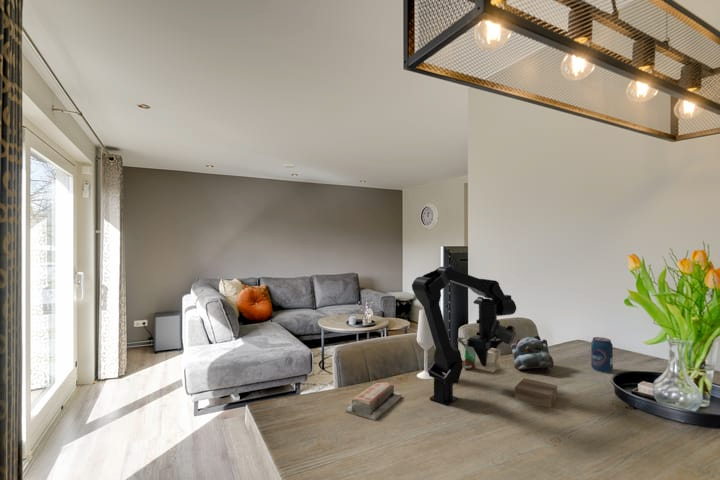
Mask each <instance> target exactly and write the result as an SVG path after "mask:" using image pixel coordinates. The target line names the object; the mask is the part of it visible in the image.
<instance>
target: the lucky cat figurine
mask: <svg viewBox="0 0 720 480" xmlns="http://www.w3.org/2000/svg"><path fill="white" fill-rule="evenodd" d="M510 348H511V350H512V355H513V358H514V360H513V364H514V369H516V370H517V371H521V370H528V369H545V370H548V369H552V368H553V367H554V365H555V364H554V359H553V356H551V355H550V352H549V344H548V340H547V339H541V338H540V336H539V335H535V336H534V337H529V336H527V337H524V338H518V339H517V340H516V342H515V343H513V342H512V344H511V345H510Z"/></svg>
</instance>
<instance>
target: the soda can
mask: <svg viewBox="0 0 720 480" xmlns="http://www.w3.org/2000/svg"><path fill="white" fill-rule="evenodd" d="M613 349H614V347H613V343H612V340H611V339H609V338H606V337H601V336H599V337H598V336H597V337H596V336H595V337H593V338H592V340H591V342H590V366H591V367H592V369H593V371H595V372H598V373H603V374H605V373H606V374H608V373H609V374H610V373H611V372H612V371H613V369H614V361H613V360H614V357H613V356H614V353H613V351H614V350H613Z"/></svg>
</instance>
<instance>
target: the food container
mask: <svg viewBox="0 0 720 480" xmlns="http://www.w3.org/2000/svg"><path fill="white" fill-rule="evenodd" d="M469 338H470V337H469ZM469 338H467V337H461V336H459V337H457V346H458V347H457V349H458V350H460V353H461V358H462V360H463V362H462V365H463V368H462V370H464V371H471V370H474V369H476V367H475V350H474V349H473V347H469V346H467V340H468V339H469Z"/></svg>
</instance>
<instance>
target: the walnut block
mask: <svg viewBox="0 0 720 480" xmlns="http://www.w3.org/2000/svg"><path fill="white" fill-rule="evenodd" d="M557 398H558V385H557V384H552V383H548V382H543V381H539V380H534V379H529V378H525V377H523V378H522V379H521V381H519V383H517V384H516V385H515V386H514V399H515V400H518V401H522V402H525V403H530V404H534V405H538V406H541V407H545V408H549V409H551V407H552V406H553V404H554V403H555V401H556V400H557Z"/></svg>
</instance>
